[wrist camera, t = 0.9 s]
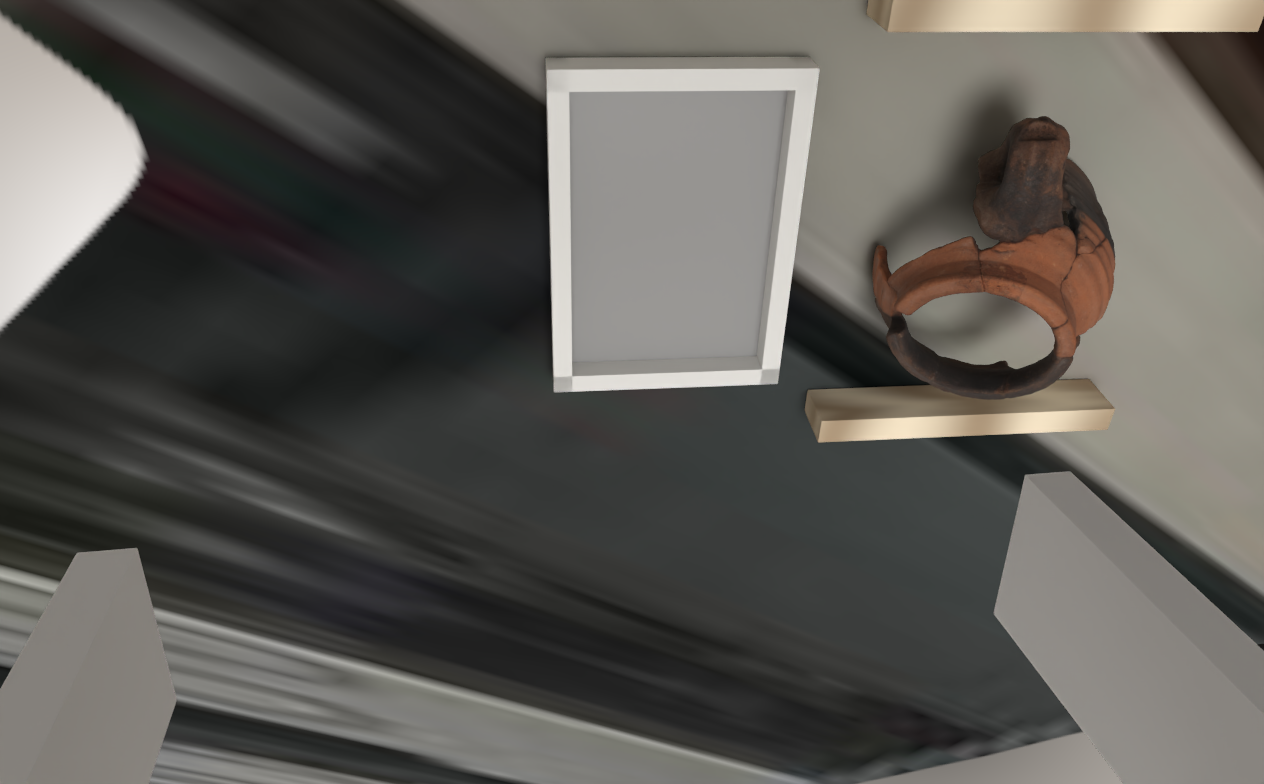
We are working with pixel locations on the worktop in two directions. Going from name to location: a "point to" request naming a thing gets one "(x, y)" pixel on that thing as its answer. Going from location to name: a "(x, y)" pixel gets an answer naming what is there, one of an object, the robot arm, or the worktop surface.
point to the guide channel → (1066, 403)
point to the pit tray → (673, 216)
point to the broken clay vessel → (1012, 263)
